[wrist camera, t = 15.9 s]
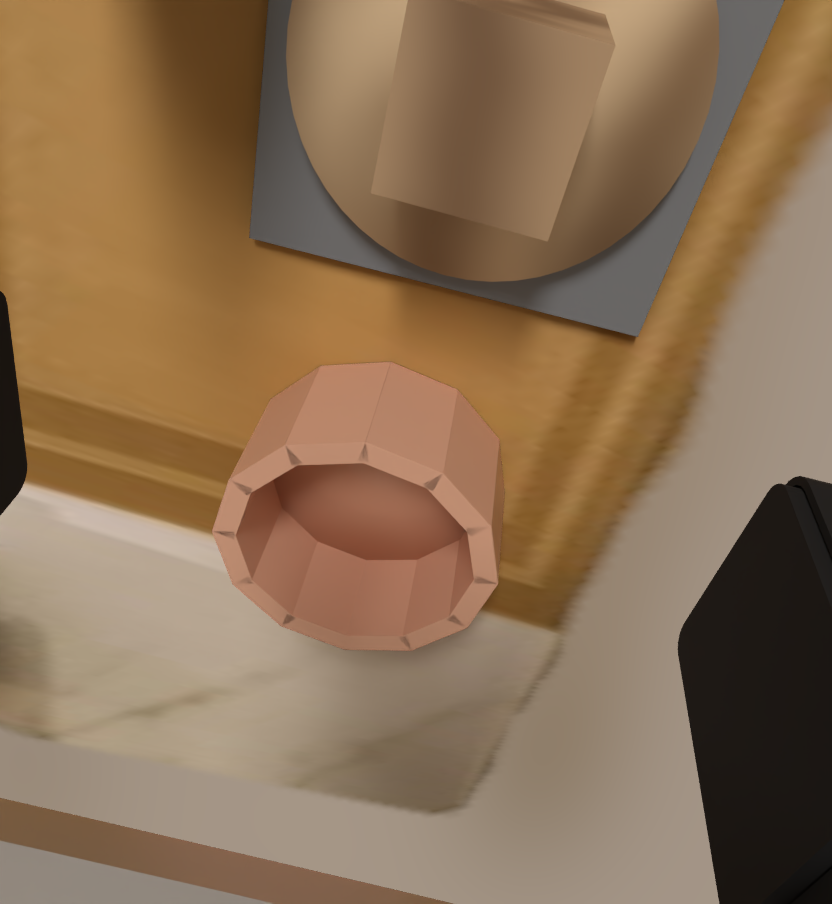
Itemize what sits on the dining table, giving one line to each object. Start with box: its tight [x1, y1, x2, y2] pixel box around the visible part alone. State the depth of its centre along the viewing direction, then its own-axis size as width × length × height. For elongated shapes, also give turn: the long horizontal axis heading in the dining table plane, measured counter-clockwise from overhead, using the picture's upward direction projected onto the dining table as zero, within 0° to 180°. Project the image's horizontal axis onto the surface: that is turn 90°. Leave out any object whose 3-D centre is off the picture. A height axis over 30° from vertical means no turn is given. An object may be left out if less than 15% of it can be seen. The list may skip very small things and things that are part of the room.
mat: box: [249, 0, 784, 337], centre depth 27 cm, size 16×16×1 cm
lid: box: [286, 0, 719, 282], centre depth 25 cm, size 14×14×6 cm
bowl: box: [212, 362, 505, 651], centre depth 36 cm, size 12×12×6 cm
